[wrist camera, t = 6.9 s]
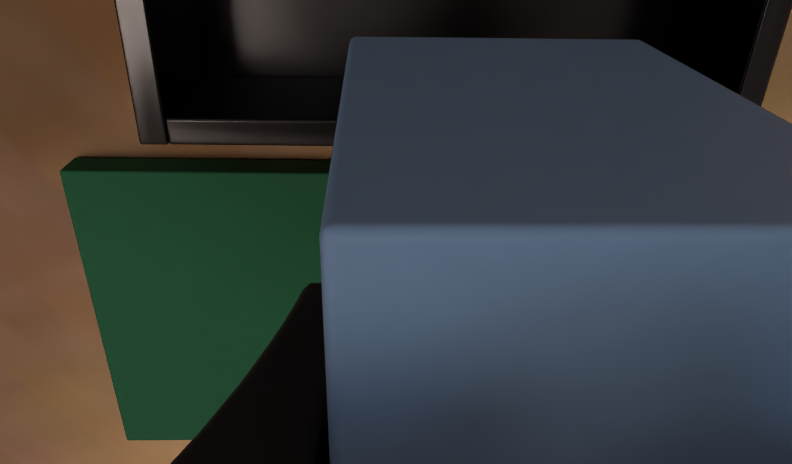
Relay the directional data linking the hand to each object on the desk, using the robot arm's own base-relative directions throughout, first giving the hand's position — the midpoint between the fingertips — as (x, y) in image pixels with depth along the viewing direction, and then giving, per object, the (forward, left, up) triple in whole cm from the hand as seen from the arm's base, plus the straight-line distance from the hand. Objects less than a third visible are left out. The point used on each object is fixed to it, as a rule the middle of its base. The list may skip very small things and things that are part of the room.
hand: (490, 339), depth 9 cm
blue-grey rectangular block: (0, 0, -1) cm, 1 cm away
